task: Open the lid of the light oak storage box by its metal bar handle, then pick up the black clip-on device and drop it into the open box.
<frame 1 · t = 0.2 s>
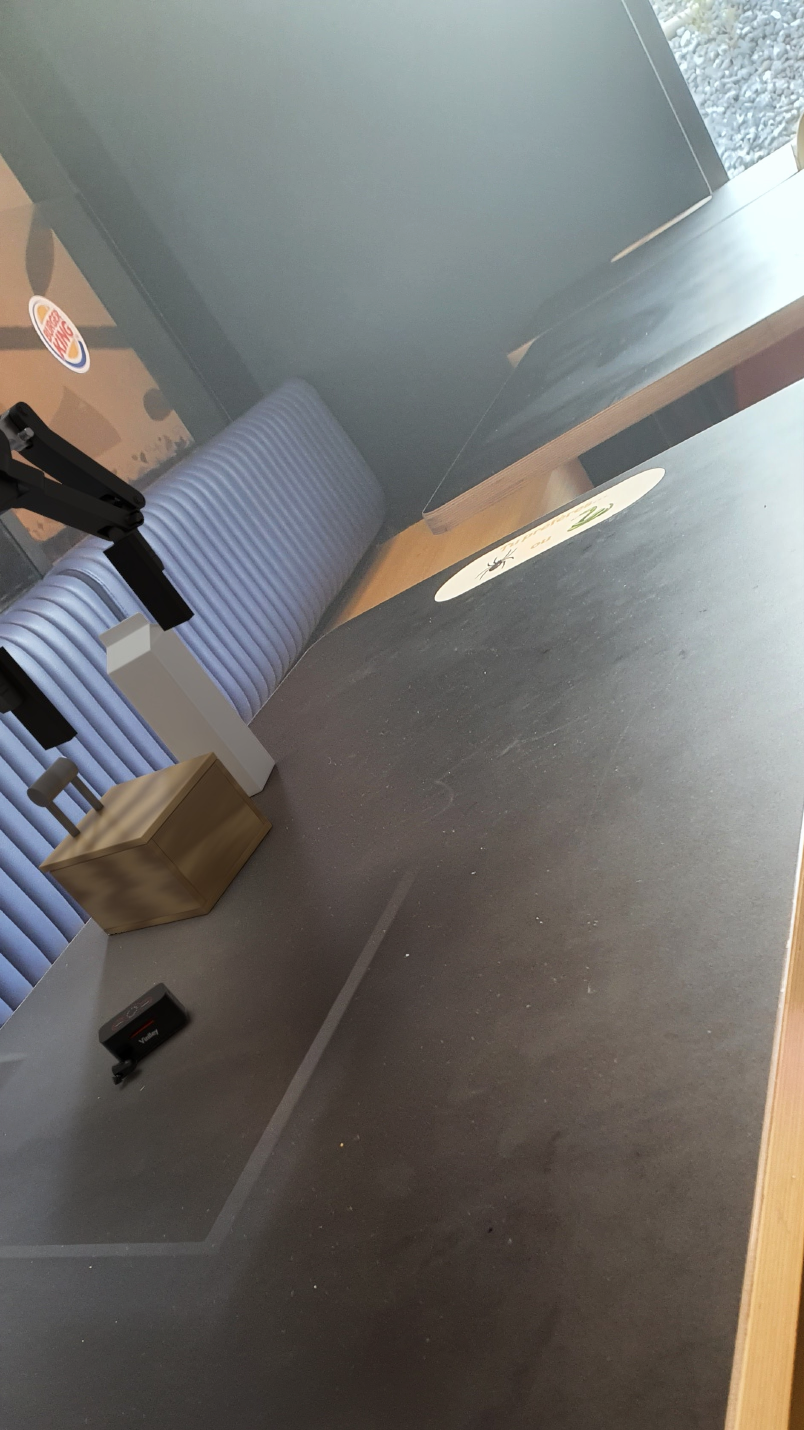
hand: (124, 679, 75), 26 cm above the table, tool pointing down, fingers open, 13 cm apart
black clip-on device: (152, 1050, 92), on the table
milk: (249, 788, 128), on the table
lid: (105, 787, 110), point 12 cm above the table, hinge at 0.0°
chest: (190, 881, 116), on the table
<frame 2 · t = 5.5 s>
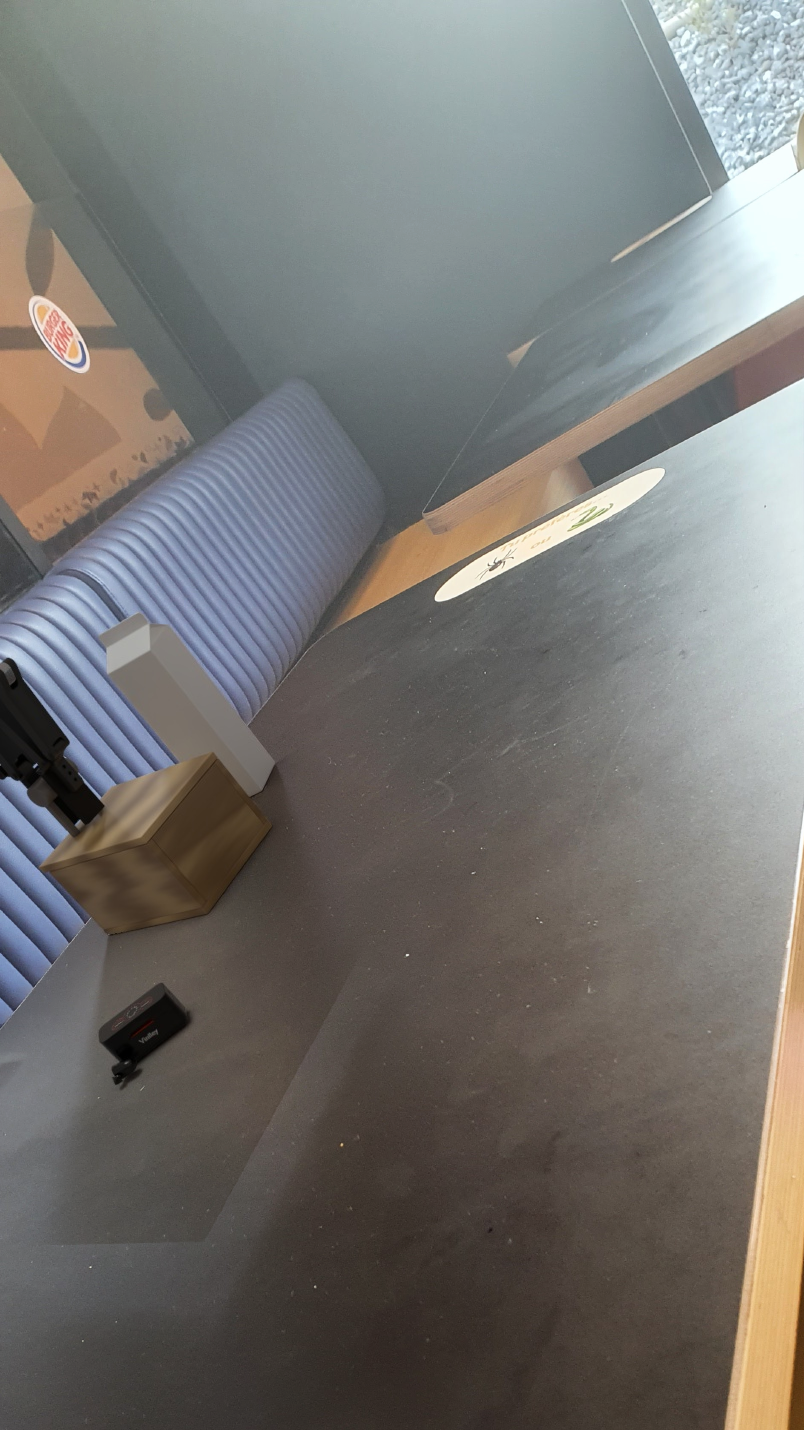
hand: (85, 818, 115), 10 cm above the table, tool pointing down, fingers closed on lid, 2 cm apart
lid: (105, 787, 110), point 12 cm above the table, hinge at 0.0°, touching gripper
everything else where it was.
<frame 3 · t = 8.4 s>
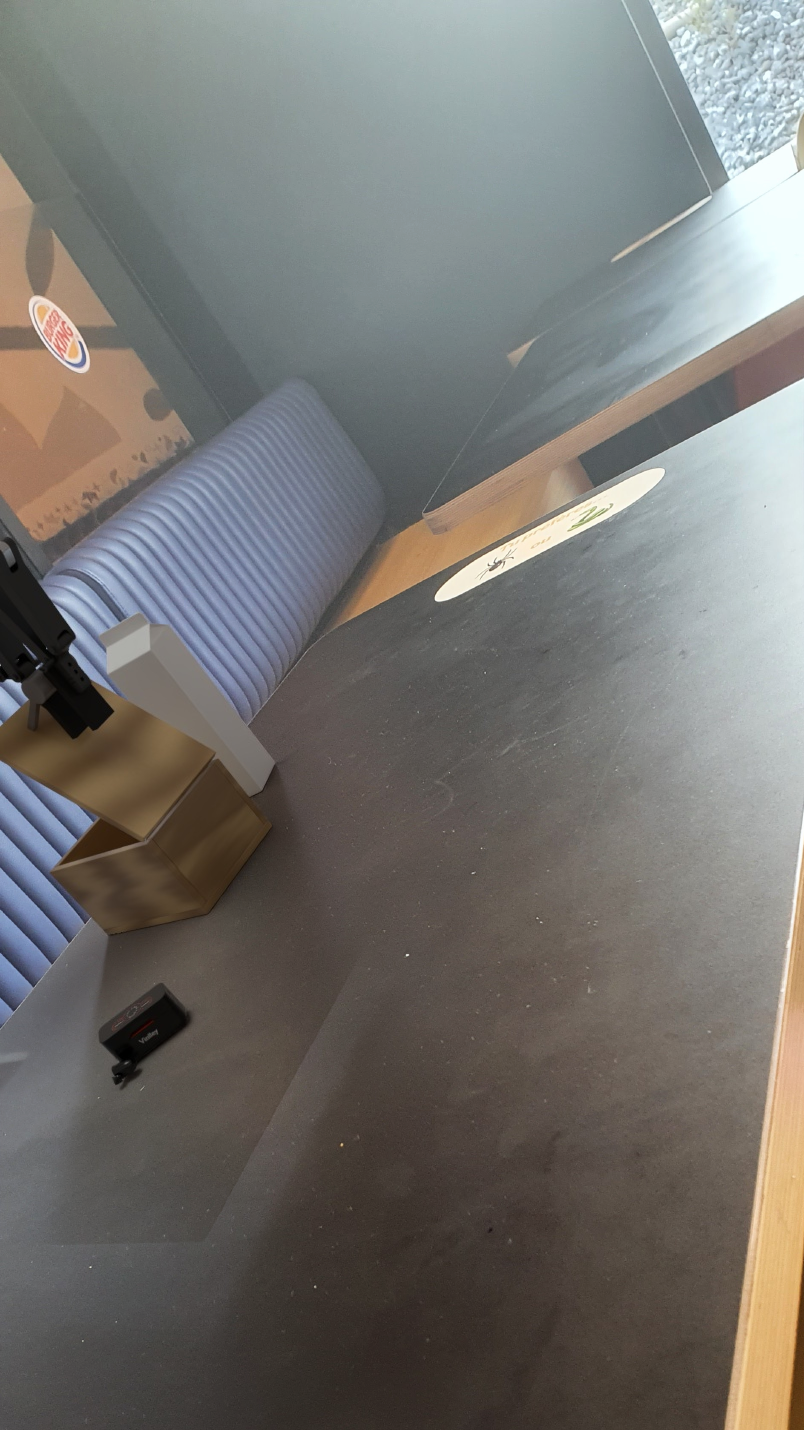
hand: (93, 725, 105), 19 cm above the table, tool pointing down, fingers closed on lid, 2 cm apart
lid: (106, 728, 104), point 18 cm above the table, hinge at 55.4°, touching gripper
everything else where it was.
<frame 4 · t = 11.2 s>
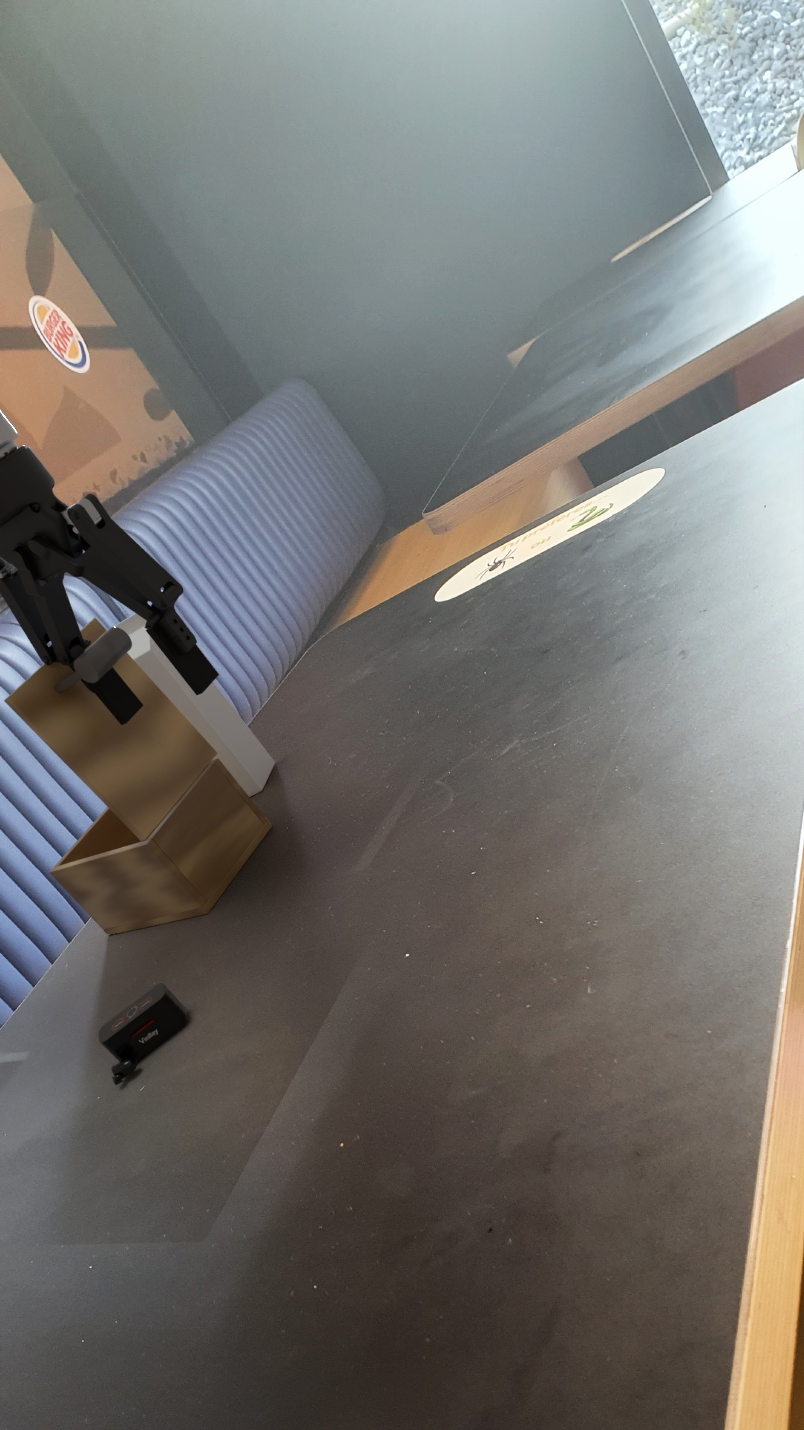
hand: (169, 700, 98), 18 cm above the table, tool pointing down, fingers open, 10 cm apart
lid: (137, 717, 101), point 18 cm above the table, hinge at 84.6°, touching gripper
everything else where it was.
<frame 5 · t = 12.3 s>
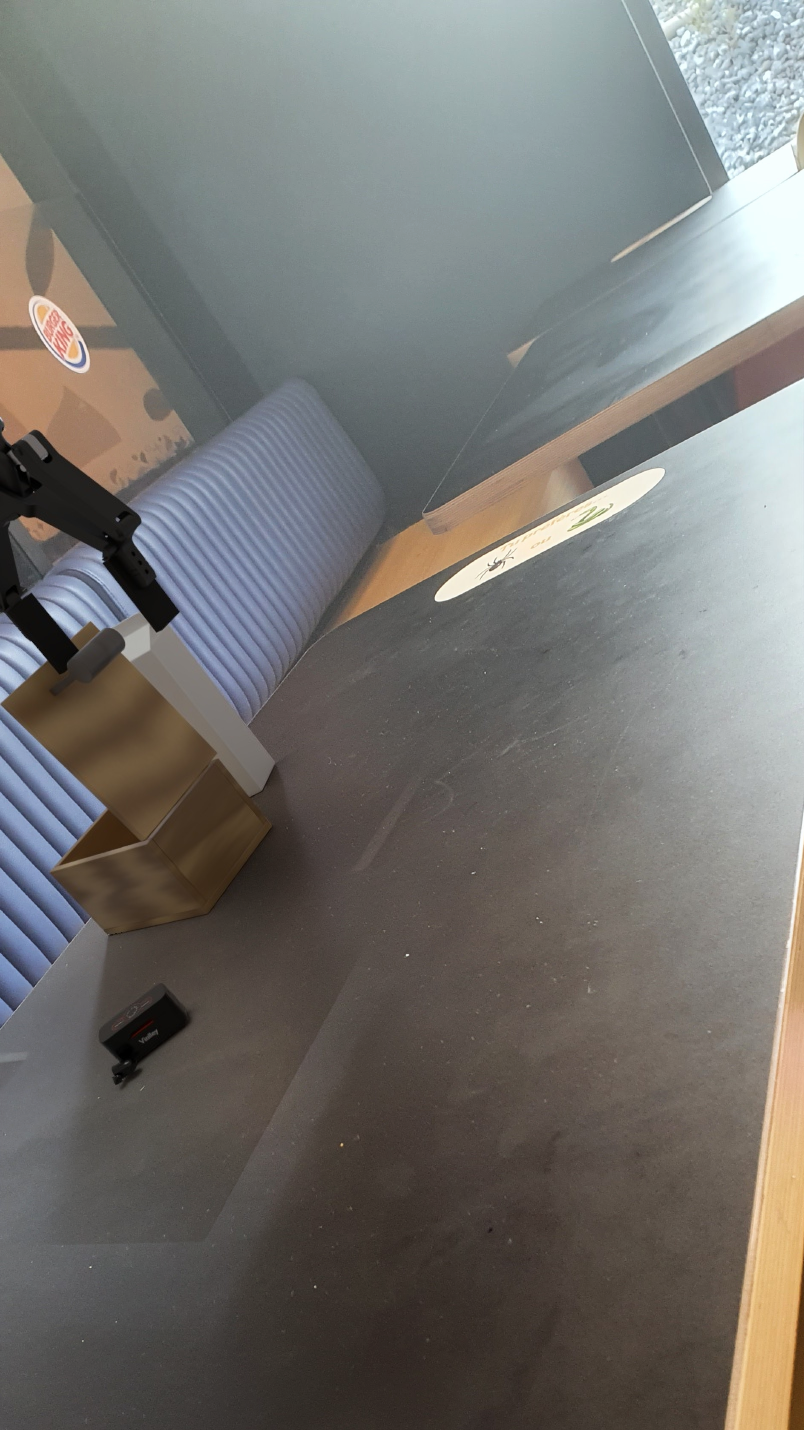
hand: (118, 644, 96), 24 cm above the table, tool pointing down, fingers open, 12 cm apart
lid: (133, 717, 102), point 18 cm above the table, hinge at 81.8°, touching gripper
everything else where it was.
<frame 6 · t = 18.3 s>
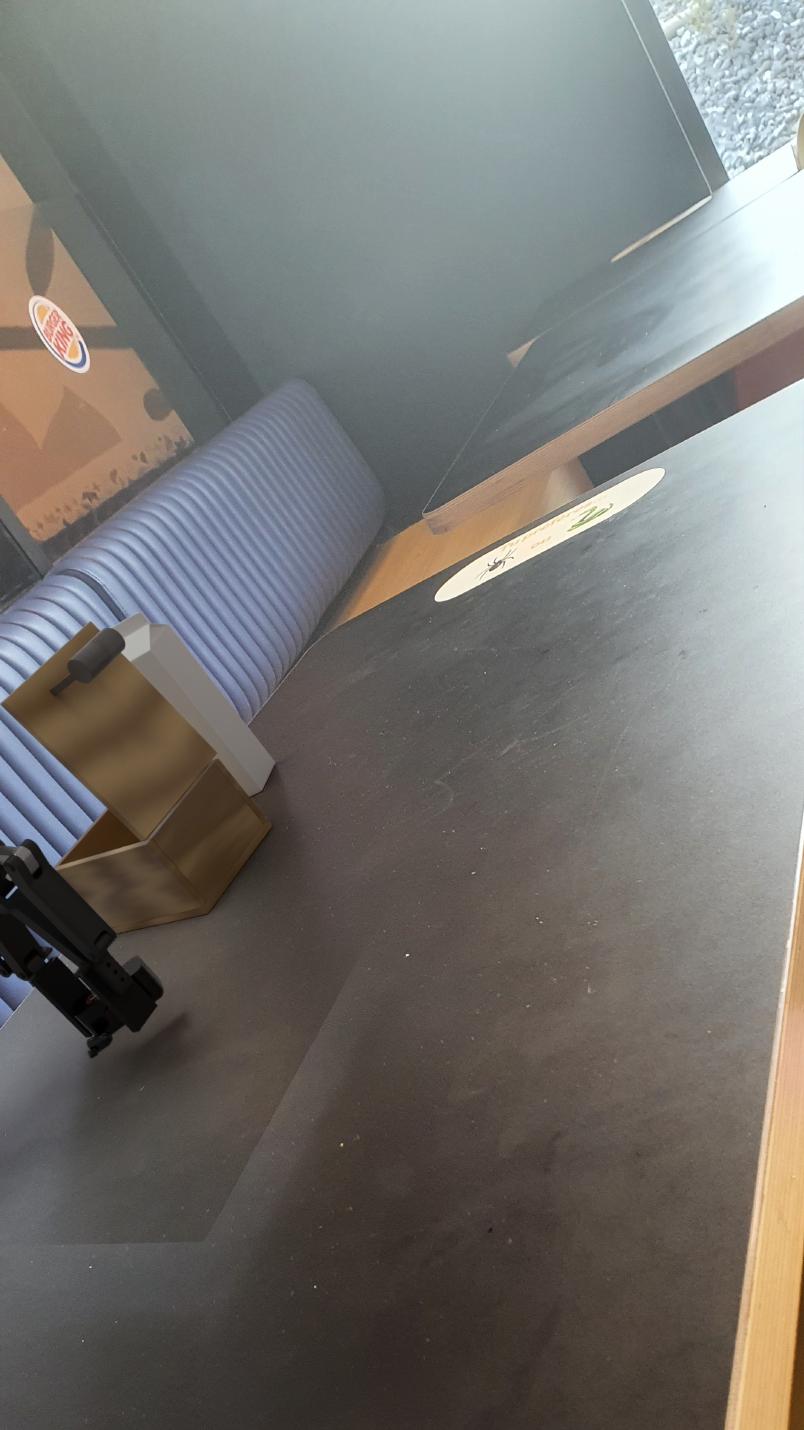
hand: (121, 1021, 91), 3 cm above the table, tool pointing down, fingers closed on black clip-on device, 5 cm apart
black clip-on device: (128, 1024, 91), point 3 cm above the table, touching gripper
lid: (133, 717, 102), point 18 cm above the table, hinge at 81.8°
everything else where it was.
when the fingers open (10 cm above the table, at t = 28.5 s): black clip-on device drops 8 cm, resting on chest.
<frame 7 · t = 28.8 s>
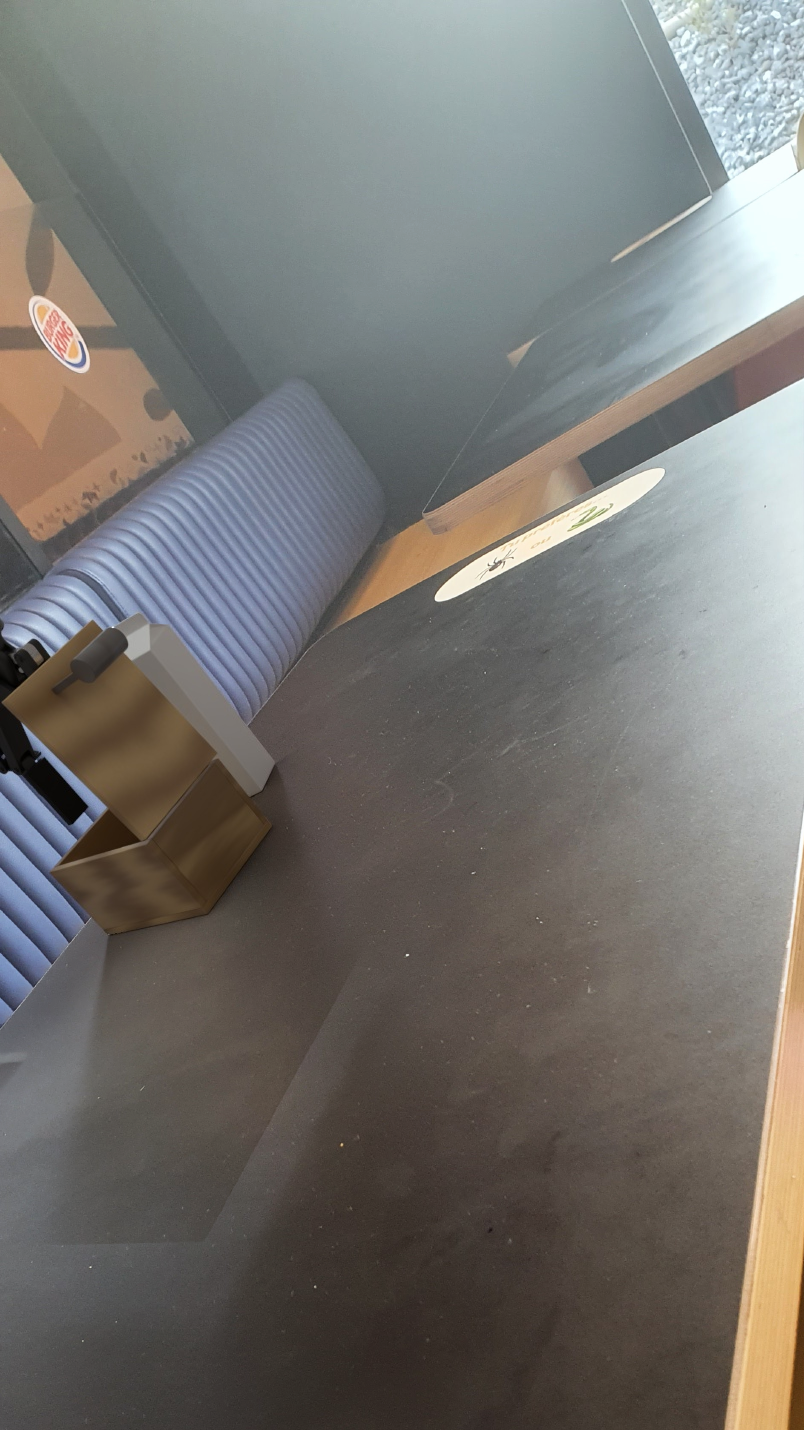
hand: (108, 806, 112), 11 cm above the table, tool pointing down, fingers open, 9 cm apart
black clip-on device: (174, 876, 117), point 1 cm above the table, touching chest
lid: (135, 717, 101), point 18 cm above the table, hinge at 83.1°, touching gripper
everything else where it was.
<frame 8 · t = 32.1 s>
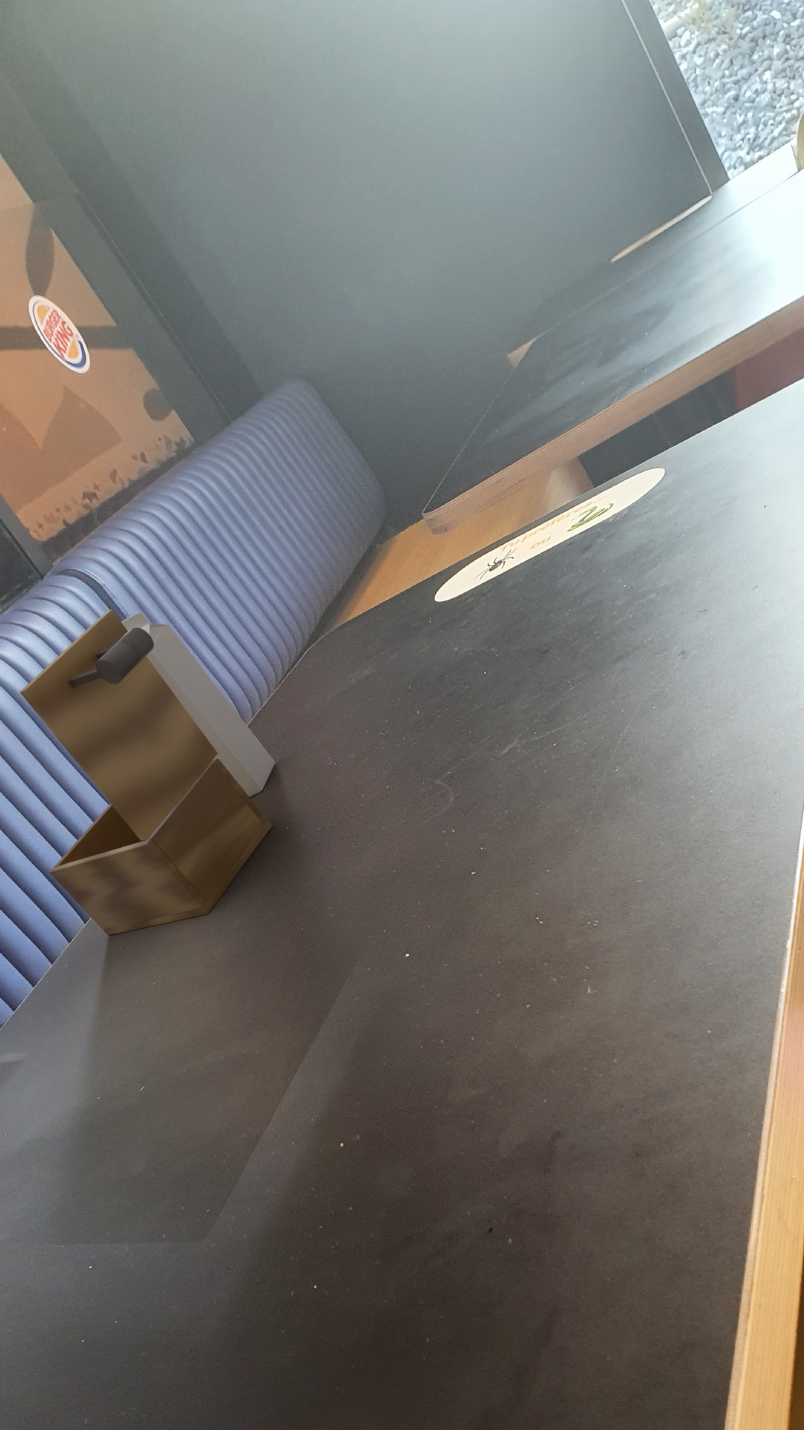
lid: (149, 718, 101), point 17 cm above the table, hinge at 93.4°
everything else where it was.
at the end: lid at +93° (first picture: +0°); black clip-on device inside the target area in the chest (2.1 cm from its centre), point 0.6 cm above the chest's base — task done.
